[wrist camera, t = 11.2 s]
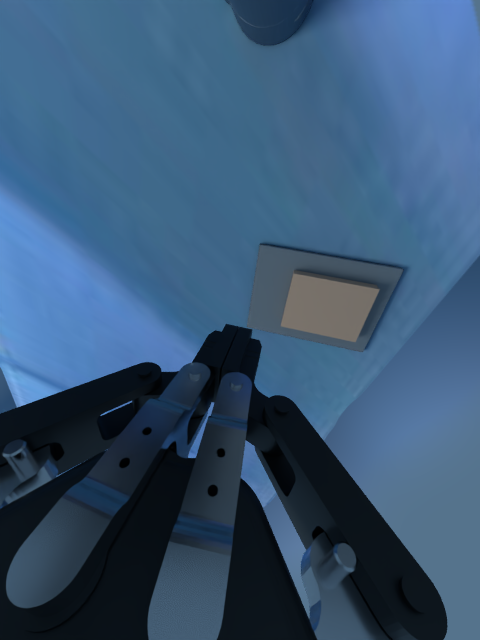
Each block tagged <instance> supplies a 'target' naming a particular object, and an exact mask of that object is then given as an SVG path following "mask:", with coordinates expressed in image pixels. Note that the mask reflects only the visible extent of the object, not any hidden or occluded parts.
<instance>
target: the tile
mask: <svg viewBox="0 0 480 640" xmlns="http://www.w3.org/2000/svg"><path fill="white" fill-rule="evenodd" d="M379 290H380V289H379V288H378V286H377V285H374V284H368V283H363V282H357V281H352V280H346V279H341V278H335V277H330V276H324V275H319V274H313V273H308V272H303V271H297V270H294V271H293V276H292V280H291V284H290V288H289V292H288V296H287V300H286V304H285V308H284V313H283V317H282V321H281V326H282V327H286V328H291V329H296V330H300V331H305V332H310V333H314V334H319V335H324V336H328V337H333V338H338V339H342V340H347V341H352V342H356V340H357V338H358V336H359V333H360V331H361V329H362V327H363V325H364V323H365V320H366V318H367V316H368V314H369V312H370V310H371V307H372V305H373V303H374V301H375V299H376V297H377V294H378V292H379Z"/></svg>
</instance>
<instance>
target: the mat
mask: <svg viewBox="0 0 480 640" xmlns="http://www.w3.org/2000/svg"><path fill="white" fill-rule="evenodd" d="M294 270H297V271H303V272H308V273H313V274H319V275H324V276H330V277H335V278H341V279H346V280H352V281H357V282H363V283H368V284H374V285H377V286H378V288H379V289H380V290H379V292H378V294H377V297H376V299H375V301H374V303H373V305H372V307H371V310H370V312H369V314H368V316H367V318H366V320H365V323H364V325H363V327H362V329H361V331H360V333H359V336H358V338H357V340H356V342H352V341H347V340H342V339H338V338H333V337H328V336H324V335H319V334H314V333H310V332H305V331H300V330H296V329H291V328H286V327H282V326H281V321H282V317H283V313H284V308H285V304H286V300H287V296H288V292H289V288H290V284H291V280H292V276H293V271H294ZM403 270H404V269H402V268H399V267H393V266H387V265H382V264H376V263H370V262H364V261H358V260H353V259H347V258H341V257H335V256H329V255H324V254H318V253H312V252H306V251H300V250H295V249H289V248H283V247H277V246H271V245H265V244H260V246H259V252H258V259H257V265H256V271H255V278H254V284H253V291H252V297H251V303H250V310H249V316H248V323H247V327H249V328H254V329H258V330H263V331H267V332H272V333H276V334H281V335H286V336H290V337H295V338H299V339H304V340H308V341H313V342H318V343H322V344H327V345H331V346H336V347H340V348H345V349H350V350H354V351H359V352H363V351H364V349H365V347H366V345H367V343H368V341H369V339H370V337H371V335H372V333H373V331H374V329H375V327H376V325H377V323H378V321H379V319H380V317H381V315H382V313H383V311H384V309H385V307H386V304H387V302H388V300H389V298H390V296H391V294H392V292H393V290H394V288H395V286H396V284H397V282H398V280H399V278H400V276H401V274H402V272H403Z"/></svg>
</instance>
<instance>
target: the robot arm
mask: <svg viewBox="0 0 480 640" xmlns="http://www.w3.org/2000/svg"><path fill="white" fill-rule="evenodd" d="M225 1H226V2H227V3H228V4H230V5H231V6H232V9H233V11H234V14H235V16H236V19H237V21H238V23H239V25H240V27H241V29H242V31H243V32H244V33H245V34H246V35H247V37H248V38H249V39H251V40H252V41H254V42H255V43H257V44H261V45H264V46H265V45H275V44H278V43H281V42H283V41H284V40H286V39H287V38H289V37H290V36H291V35H292V34H293V33H294V32H295V31H296V30H297V29H298V28H299V26H300V25H301V23H302V22H303V21H304V19H305V17H306V15H307V13H308V11H309V9H310V7H311V4H312V1H313V0H225ZM251 335H252V329H248V328H243V327H238V326H234V325H229V324H226V325H225V327H224V329H223V331H222V332H220V331H216V330H215V331H214V332H212V333H211V334H209V335H208V337H207V338H206V340H205V342H204V343H203V345H202V347H201V348H200V350H199V352H198V353H197V355H196V357H195V358H194V360H193V362H192V363H189V364H186V365H185V366H183V367H182V368H181V369H180V371H177V372H161V368H160V367H159V365H157V364H155V363H151V362H144V363H140V364H137V365H134V366H132V367H129V368H126V369H123V370H120V371H118V372H115V373H112V374H109V375H107V376H104V377H101V378H98V379H95V380H93V381H90V382H87V383H84V384H82V385H79V386H76V387H73V388H70V389H68V390H65V391H62V392H59V393H57V394H54V395H51V396H48V397H46V398H43V399H40V400H37V401H34V402H32V403H29V404H26V405H23V406H21V407H18V408H15V409H12V410H10V411H7V412H4V413H1V414H0V640H443V639H444V638H445V635H446V633H447V616H446V611H445V608H444V605H443V602H442V600H441V597H440V595H439V593H438V591H437V589H436V588H435V586H434V584H433V583H432V582H431V580H430V579H429V577H428V576H427V575H426V573H425V572H424V571H423V569H422V568H421V567H420V566H419V564H418V563H417V562H416V560H415V559H414V558H413V556H412V555H411V554H410V552H409V551H408V550H407V549H406V547H405V546H404V545H403V544H402V542H401V541H400V539H399V538H398V537H397V536H396V534H395V533H394V532H393V530H392V529H391V528H390V527H389V525H388V524H387V523H386V522H385V520H384V519H383V517H382V516H381V515H380V514H379V512H378V511H377V510H376V508H375V507H374V506H373V504H372V503H371V502H370V501H369V500H368V498H367V497H366V495H365V494H364V493H363V491H362V490H361V489H360V488H359V486H358V485H357V484H356V483H355V481H354V480H353V478H352V477H351V476H350V475H349V473H348V472H347V471H346V469H345V468H344V467H343V466H342V464H341V463H340V462H339V460H338V459H337V458H336V456H335V455H334V454H333V453H332V451H331V450H330V449H329V447H328V446H327V445H326V443H325V442H324V441H323V439H322V438H321V437H320V436H319V434H318V433H317V432H316V430H315V429H314V428H313V426H312V425H311V424H310V423H309V421H308V420H307V419H306V417H305V416H304V415H303V413H302V412H301V411H300V410H299V408H298V407H297V406H296V404H295V403H294V402H293V401H292V400H290V399H289V398H287V397H284V396H280V395H276V396H272V397H270V398H268V397H267V396H265V395H263V394H262V393H260V392H259V391H258V390H257V388H256V387H255V384H254V380H255V376H256V371H257V367H258V362H259V358H260V353H261V348H262V346H261V343H260V341H259V340H256V339H252V338H251ZM129 401H132V403H130V404H127V405H125V406H123V407H121V408H118V409H116V410H114V411H112V412H109V413H107V414H105V415H102V416H100V415H101V414H103V413H105V412H107V411H109V410H111V409H114V408H116V407H118V406H120V405H123V404H125V403H127V402H129ZM211 402H214V407H213V410H212V414H211V416H209V417H208V420H207V423H206V426H205V430H204V433H203V436H202V440H201V443H200V446H199V450H198V453H197V456H196V458H188V454H189V451H190V449H191V447H192V445H193V443H194V441H195V439H196V437H197V435H198V433H199V431H200V429H201V427H202V425H203V423H204V421H205V419H206V417H207V414H208V409H209V407H210V405H211ZM245 440H246V441H248V442H249V443H251V444H252V445H254V446H255V451H256V453H257V455H258V457H259V459H260V461H261V463H262V465H263V467H264V469H265V471H266V473H267V475H268V477H269V479H270V480H271V482H272V484H273V486H274V488H275V490H276V492H277V494H278V496H279V498H280V500H281V502H282V504H283V505H284V508H285V510H286V512H287V514H288V515H289V517H290V519H291V521H292V523H293V525H294V527H295V529H296V531H297V533H298V535H299V537H300V539H301V541H302V543H303V545H304V547H305V548H306V552H305V553H304V555H303V557H302V561H301V576H302V581H303V584H304V587H305V590H306V593H307V596H308V600H309V607H310V618H308V616H307V613H306V611H305V608H304V606H303V604H302V601H301V599H300V596H299V594H298V592H297V589H296V587H295V585H294V582H293V580H292V577H291V575H290V573H289V570H288V568H287V565H286V563H285V561H284V558H283V556H282V553H281V551H280V549H279V546H278V544H277V541H276V539H275V536H274V534H273V532H272V529H271V527H270V525H269V522H268V520H267V517H266V515H265V513H264V510H263V508H262V505H261V503H260V501H259V499H258V498H257V496H256V494H255V493H254V491H253V490H252V489H251V487H250V486H249V485H248V484H247V483H246V482H245V481H244V480H243V479H241V470H242V463H243V455H244V447H245ZM107 449H108V450H107ZM93 456H94V457H93ZM84 461H85V462H84ZM82 462H83V463H82ZM80 463H81V464H80ZM78 464H79V465H78ZM76 465H77V466H76ZM74 466H76V467H74ZM73 467H74V468H73ZM71 468H72V469H71ZM69 469H70V470H69ZM67 470H68V471H67ZM65 471H67V472H65ZM63 472H65V473H63ZM61 473H63V474H61ZM59 474H61V475H60V476H58V477H56V476H57V475H59Z"/></svg>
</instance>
